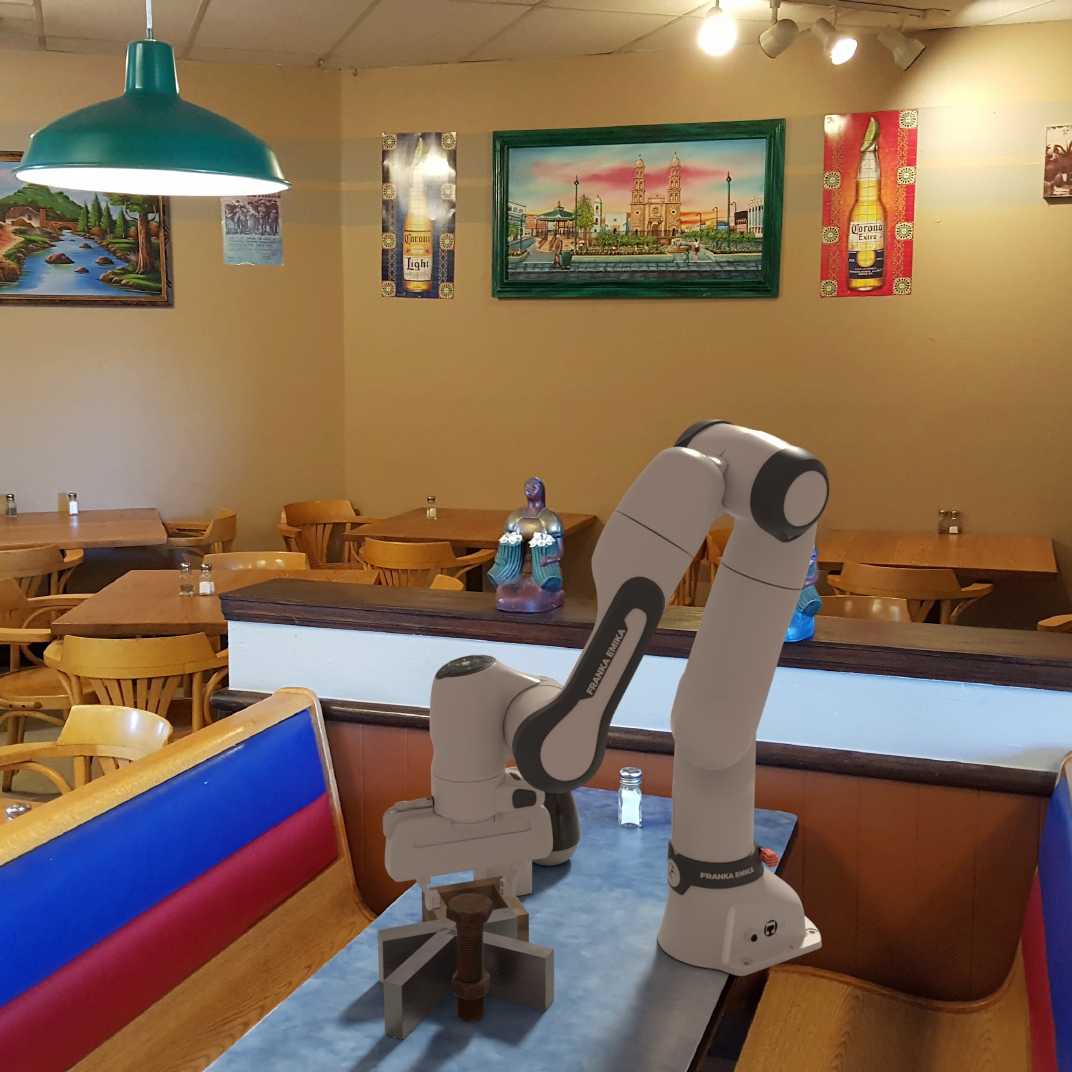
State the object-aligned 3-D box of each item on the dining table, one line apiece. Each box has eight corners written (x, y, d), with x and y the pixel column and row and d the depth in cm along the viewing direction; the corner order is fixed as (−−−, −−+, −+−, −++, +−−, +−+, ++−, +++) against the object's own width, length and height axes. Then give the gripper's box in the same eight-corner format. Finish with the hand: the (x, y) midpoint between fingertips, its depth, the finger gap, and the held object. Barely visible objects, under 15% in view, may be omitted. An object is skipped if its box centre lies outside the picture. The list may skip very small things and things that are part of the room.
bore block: (502, 907, 166) (501, 875, 165) (528, 947, 155) (528, 913, 154) (422, 921, 162) (421, 889, 161) (444, 963, 151) (443, 928, 150)
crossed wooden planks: (522, 953, 153) (522, 904, 152) (558, 1007, 140) (559, 955, 139) (365, 982, 146) (363, 932, 145) (388, 1043, 133) (386, 988, 132)
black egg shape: (503, 855, 183) (503, 765, 181) (556, 840, 189) (556, 753, 186) (538, 879, 175) (538, 785, 172) (592, 862, 180) (593, 772, 178)
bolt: (484, 1033, 135) (483, 916, 133) (444, 1028, 136) (442, 912, 134) (496, 1006, 141) (495, 893, 138) (458, 1001, 142) (456, 889, 140)
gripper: (387, 814, 128) (391, 928, 130) (557, 789, 134) (558, 898, 137) (376, 794, 134) (380, 903, 136) (539, 771, 140) (540, 876, 142)
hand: (470, 901), depth 136 cm, fingers open, 8 cm apart
